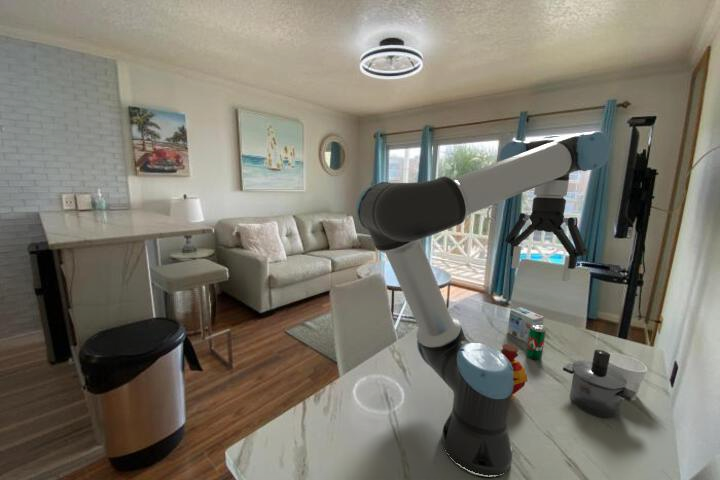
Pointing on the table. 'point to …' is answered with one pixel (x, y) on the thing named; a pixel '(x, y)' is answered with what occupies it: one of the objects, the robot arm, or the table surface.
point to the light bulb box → (522, 322)
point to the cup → (628, 370)
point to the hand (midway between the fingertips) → (538, 273)
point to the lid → (599, 372)
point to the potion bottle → (515, 367)
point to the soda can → (535, 341)
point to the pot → (596, 397)
